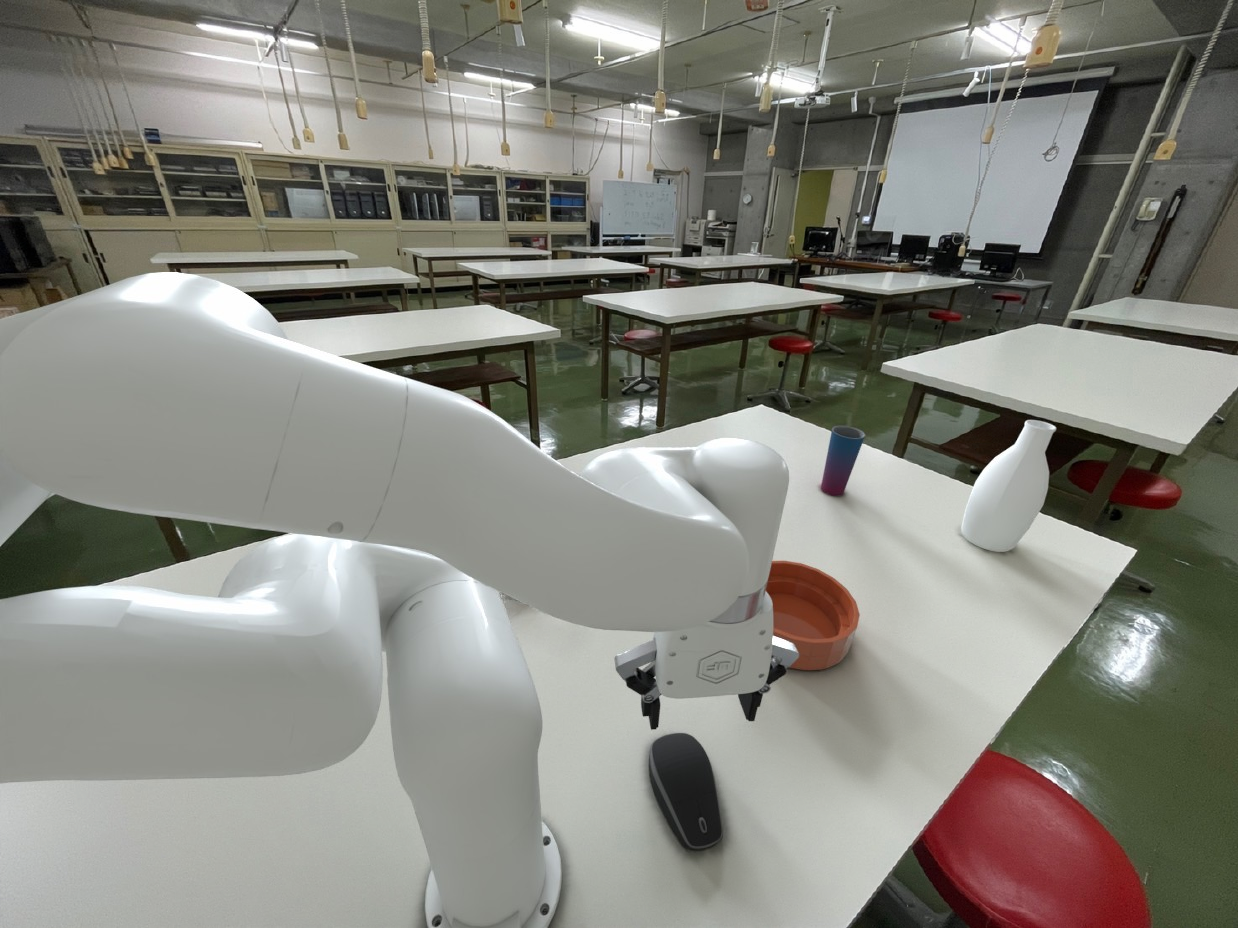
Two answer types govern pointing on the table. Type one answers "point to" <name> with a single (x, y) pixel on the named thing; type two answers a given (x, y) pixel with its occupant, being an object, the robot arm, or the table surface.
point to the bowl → (812, 614)
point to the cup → (841, 458)
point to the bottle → (1009, 491)
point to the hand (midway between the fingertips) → (699, 712)
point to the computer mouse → (686, 790)
